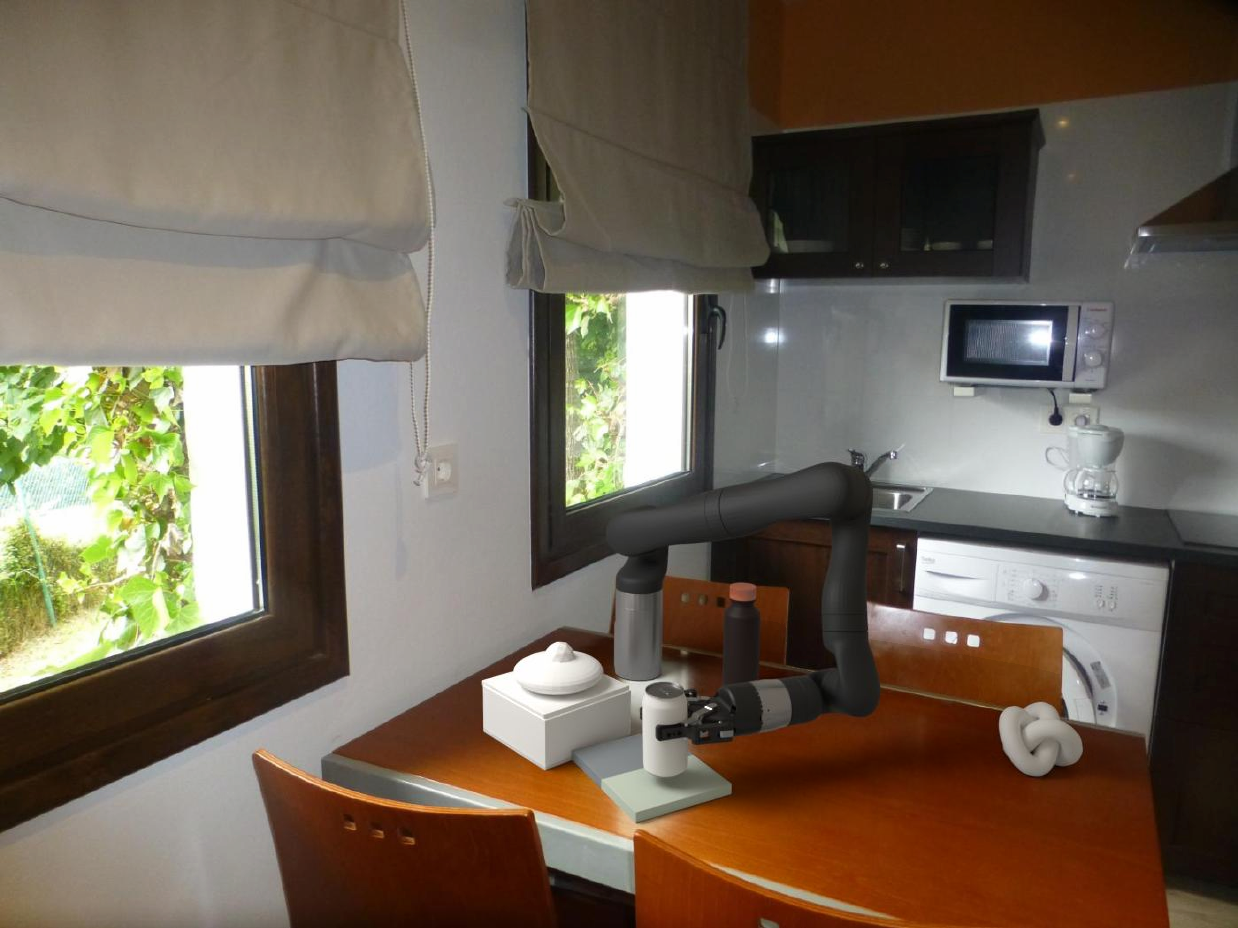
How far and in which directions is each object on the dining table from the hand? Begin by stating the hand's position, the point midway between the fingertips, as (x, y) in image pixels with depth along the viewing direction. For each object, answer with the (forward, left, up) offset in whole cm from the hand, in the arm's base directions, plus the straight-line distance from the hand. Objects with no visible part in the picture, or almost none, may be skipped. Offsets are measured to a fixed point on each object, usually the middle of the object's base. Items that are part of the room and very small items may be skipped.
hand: (648, 723), depth 122 cm
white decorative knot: (+21, +56, -11) cm, 61 cm away
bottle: (-24, +34, -11) cm, 43 cm away
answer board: (-4, +2, -10) cm, 11 cm away
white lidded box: (-23, -4, -11) cm, 26 cm away
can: (+1, +3, -7) cm, 8 cm away
